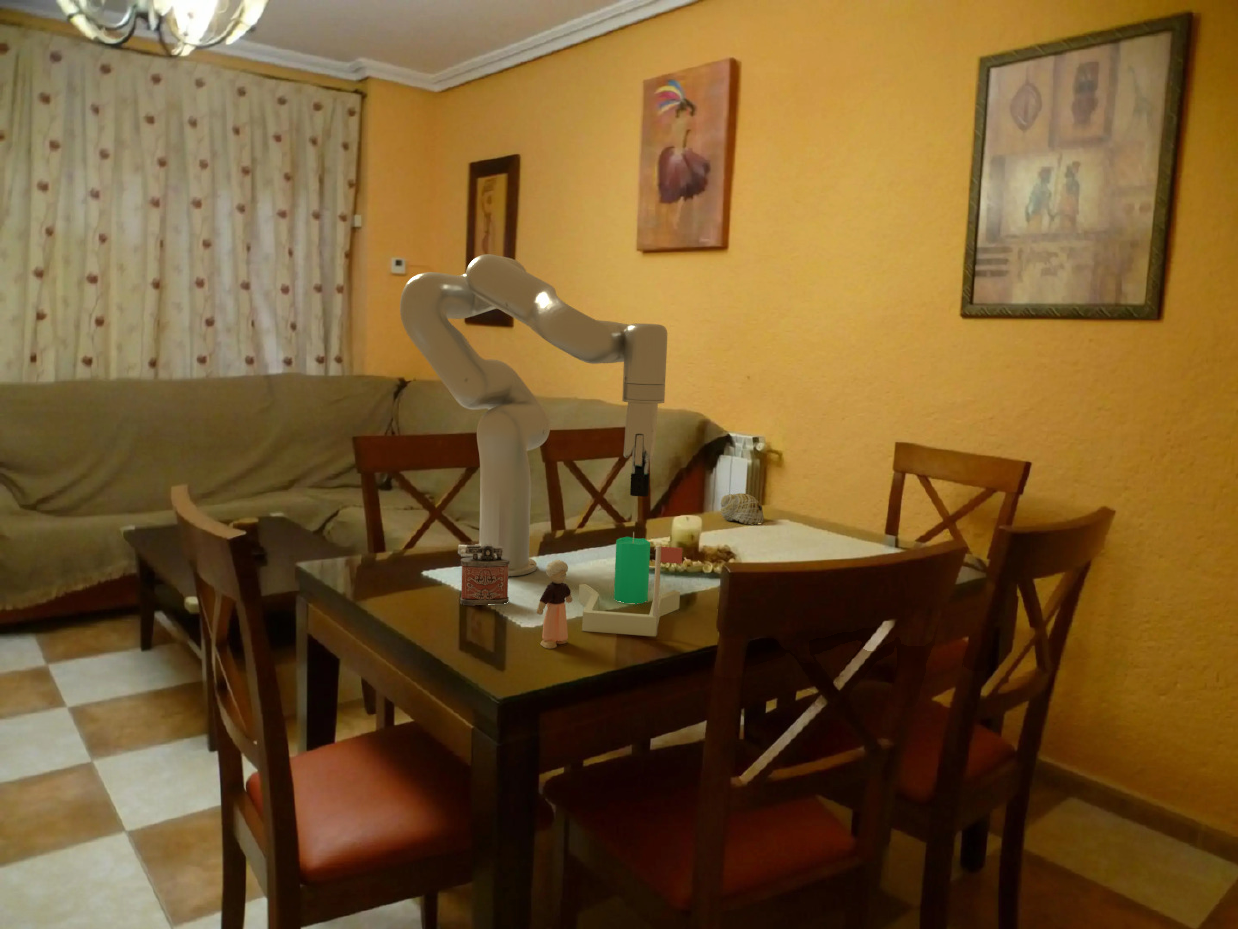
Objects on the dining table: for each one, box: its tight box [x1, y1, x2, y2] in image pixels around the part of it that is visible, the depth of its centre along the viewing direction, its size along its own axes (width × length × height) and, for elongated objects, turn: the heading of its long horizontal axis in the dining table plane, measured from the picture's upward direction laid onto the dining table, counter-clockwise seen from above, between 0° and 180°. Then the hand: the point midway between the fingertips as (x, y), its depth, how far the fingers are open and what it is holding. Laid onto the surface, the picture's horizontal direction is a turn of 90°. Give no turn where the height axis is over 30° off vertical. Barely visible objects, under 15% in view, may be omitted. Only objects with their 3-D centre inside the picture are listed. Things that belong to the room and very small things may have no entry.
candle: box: [613, 531, 651, 605], centre depth 157 cm, size 6×6×12 cm
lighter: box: [459, 544, 510, 606], centre depth 152 cm, size 8×3×10 cm, turn 100°
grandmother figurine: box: [535, 558, 573, 650], centre depth 134 cm, size 8×4×13 cm, turn 156°
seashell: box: [720, 492, 765, 525], centre depth 229 cm, size 10×10×10 cm
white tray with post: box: [578, 545, 683, 637], centre depth 146 cm, size 18×16×14 cm
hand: (639, 495), depth 163 cm, fingers closed
